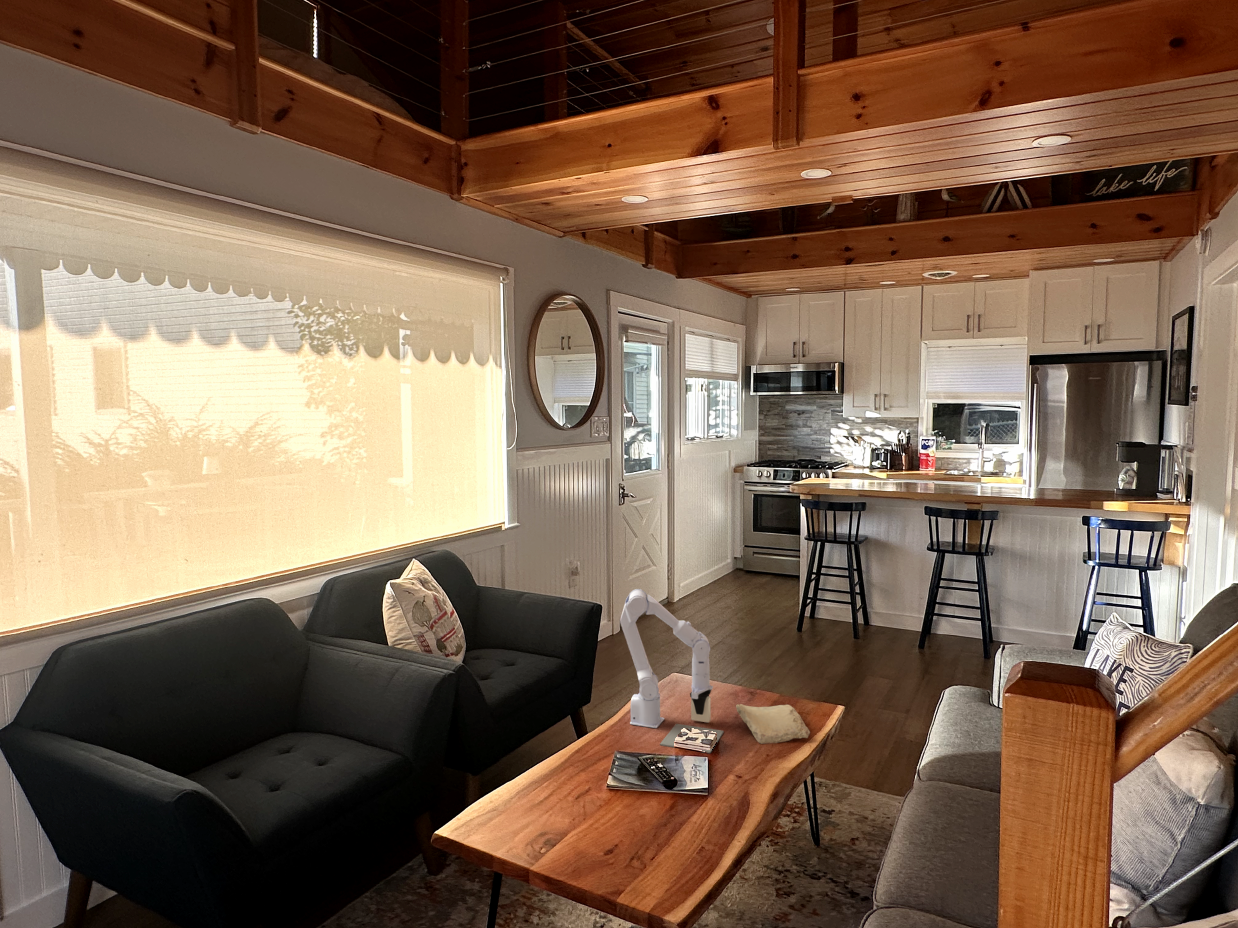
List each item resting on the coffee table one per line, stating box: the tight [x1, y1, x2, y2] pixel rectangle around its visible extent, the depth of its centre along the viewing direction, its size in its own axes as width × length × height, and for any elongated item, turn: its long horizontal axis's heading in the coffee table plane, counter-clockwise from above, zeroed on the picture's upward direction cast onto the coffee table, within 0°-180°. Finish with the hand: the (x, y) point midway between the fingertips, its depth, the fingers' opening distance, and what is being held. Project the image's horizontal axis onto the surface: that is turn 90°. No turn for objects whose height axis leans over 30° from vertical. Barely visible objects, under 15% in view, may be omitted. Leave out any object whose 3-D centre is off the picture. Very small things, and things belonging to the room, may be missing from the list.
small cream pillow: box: [735, 703, 811, 745], centre depth 254 cm, size 24×8×20 cm
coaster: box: [690, 695, 711, 723], centre depth 258 cm, size 6×2×8 cm, turn 68°
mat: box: [659, 723, 725, 754], centre depth 246 cm, size 16×16×1 cm
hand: (700, 712), depth 258 cm, fingers closed on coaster, 2 cm apart
